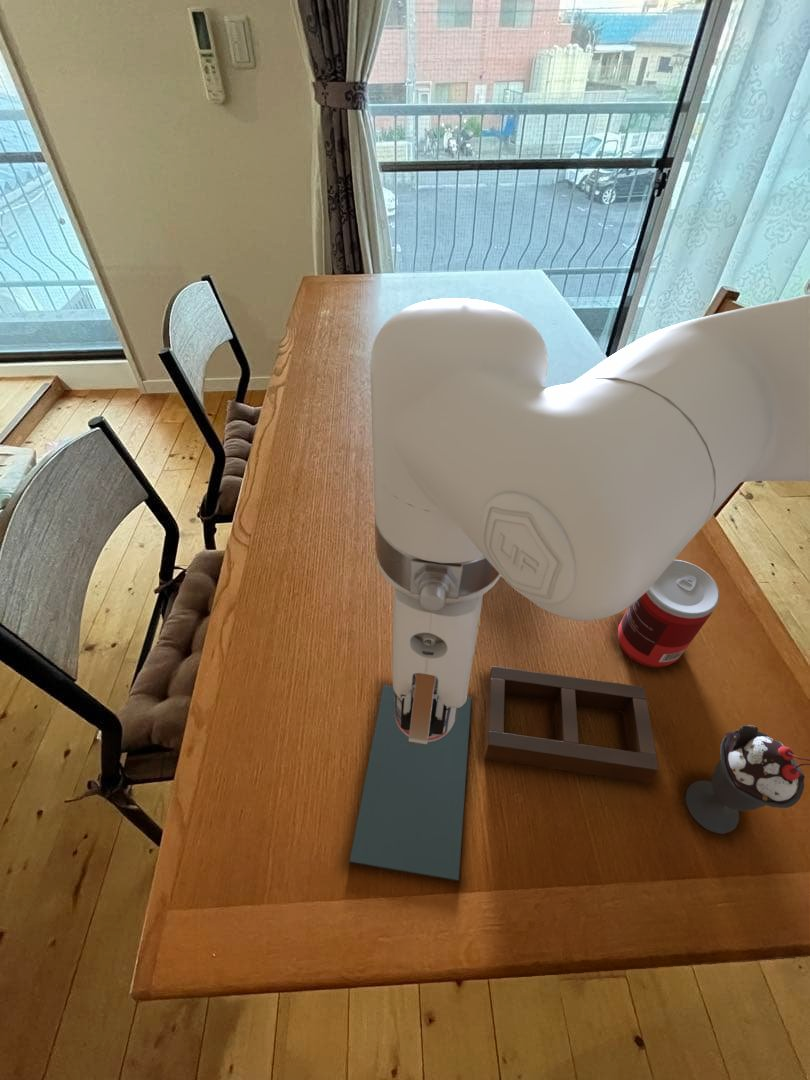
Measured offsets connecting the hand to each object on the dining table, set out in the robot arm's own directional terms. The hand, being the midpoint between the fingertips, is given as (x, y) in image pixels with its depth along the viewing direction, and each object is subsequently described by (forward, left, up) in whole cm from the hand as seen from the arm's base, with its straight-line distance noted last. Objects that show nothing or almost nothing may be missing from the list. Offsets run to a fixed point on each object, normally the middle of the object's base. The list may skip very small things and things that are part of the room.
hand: (426, 691), depth 44 cm
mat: (0, 0, -17) cm, 17 cm away
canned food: (+20, -26, -17) cm, 37 cm away
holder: (+7, -15, -17) cm, 23 cm away
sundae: (+1, -29, -17) cm, 34 cm away
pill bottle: (0, 0, -4) cm, 4 cm away
